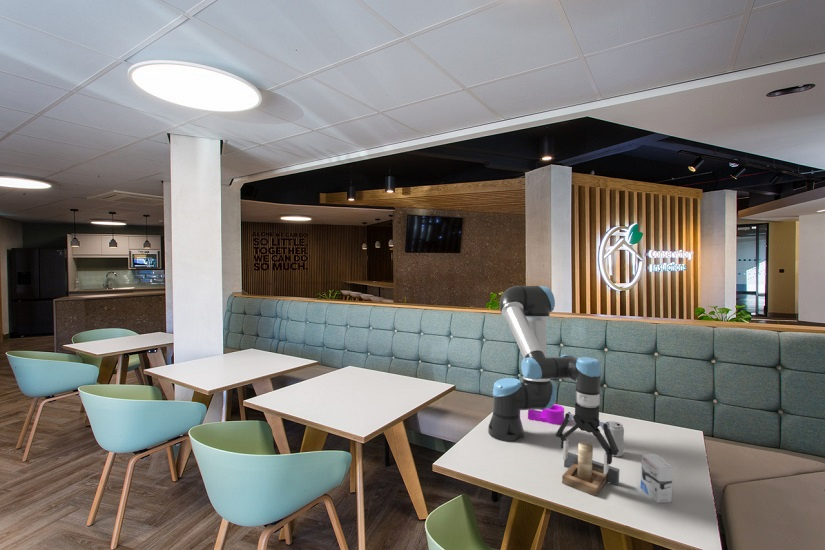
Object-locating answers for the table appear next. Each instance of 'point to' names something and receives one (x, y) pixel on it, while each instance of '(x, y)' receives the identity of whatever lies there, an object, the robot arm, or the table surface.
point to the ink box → (656, 478)
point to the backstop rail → (595, 468)
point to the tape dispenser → (548, 415)
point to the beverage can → (617, 436)
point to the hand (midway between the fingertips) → (585, 465)
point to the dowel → (585, 461)
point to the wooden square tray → (575, 482)
